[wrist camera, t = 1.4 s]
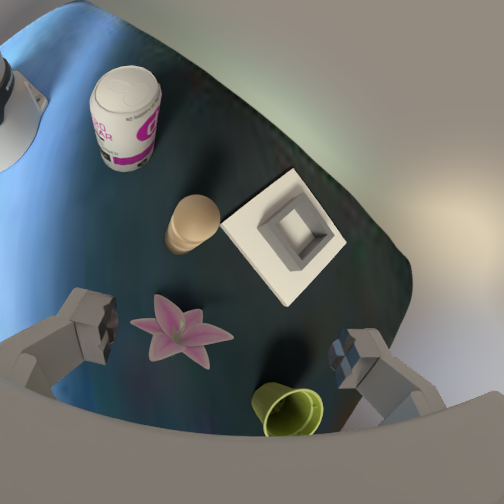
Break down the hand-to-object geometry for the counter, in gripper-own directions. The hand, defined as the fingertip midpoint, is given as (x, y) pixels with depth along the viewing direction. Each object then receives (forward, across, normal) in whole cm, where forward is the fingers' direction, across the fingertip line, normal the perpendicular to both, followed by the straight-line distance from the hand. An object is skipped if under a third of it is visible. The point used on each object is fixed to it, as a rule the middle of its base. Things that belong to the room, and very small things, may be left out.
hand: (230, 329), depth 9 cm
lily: (+22, +3, +22) cm, 31 cm away
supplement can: (+34, +16, +1) cm, 38 cm away
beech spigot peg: (+28, +5, +12) cm, 31 cm away
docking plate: (+33, -12, +10) cm, 37 cm away
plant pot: (+18, -12, +32) cm, 38 cm away
